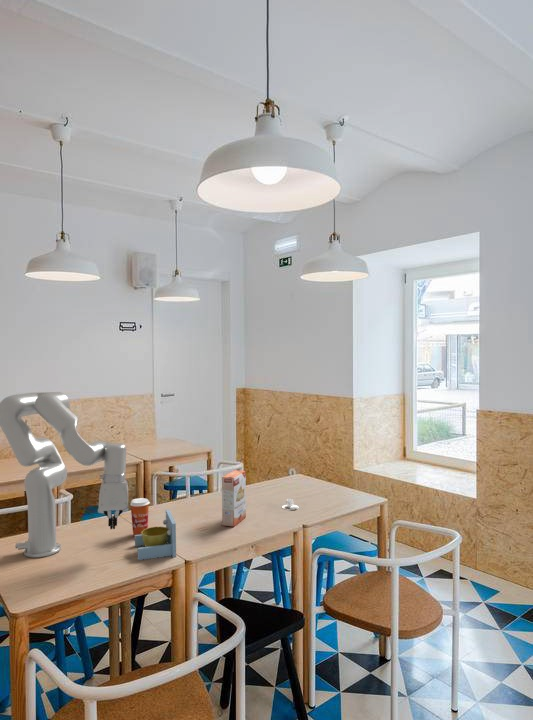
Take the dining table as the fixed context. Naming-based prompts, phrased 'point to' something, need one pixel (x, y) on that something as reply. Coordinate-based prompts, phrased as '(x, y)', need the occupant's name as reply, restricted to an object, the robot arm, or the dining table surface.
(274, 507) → the dining table surface
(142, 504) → the paper cup
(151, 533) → the flower pot
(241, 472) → the cracker box
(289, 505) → the white lobed knob
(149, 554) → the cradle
